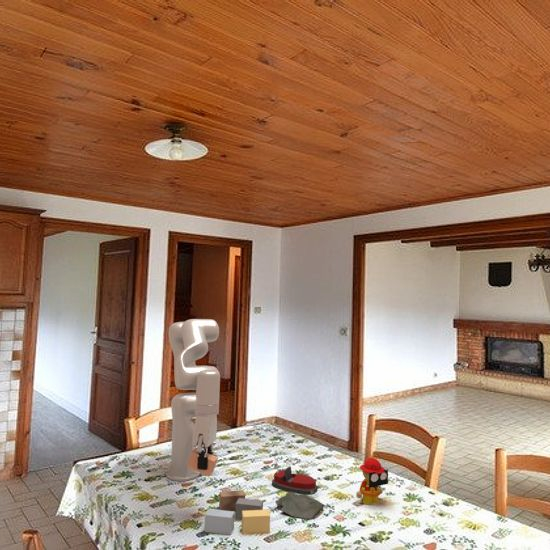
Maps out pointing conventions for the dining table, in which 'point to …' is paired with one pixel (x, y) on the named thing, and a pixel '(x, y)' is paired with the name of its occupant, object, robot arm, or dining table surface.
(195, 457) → the terracotta brick
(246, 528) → the ochre brick
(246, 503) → the charcoal brick
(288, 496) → the artifact
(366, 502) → the toy
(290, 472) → the bumper car
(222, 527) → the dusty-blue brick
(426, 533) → the dining table surface
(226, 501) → the walnut brick
